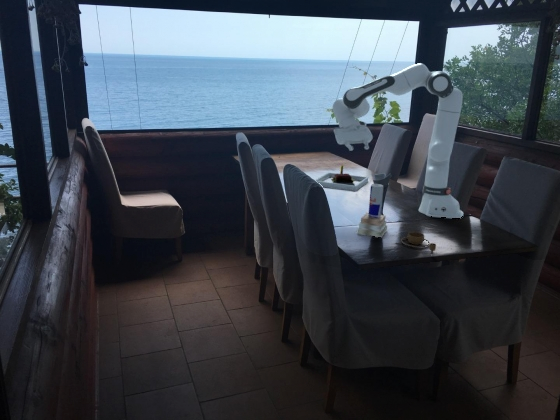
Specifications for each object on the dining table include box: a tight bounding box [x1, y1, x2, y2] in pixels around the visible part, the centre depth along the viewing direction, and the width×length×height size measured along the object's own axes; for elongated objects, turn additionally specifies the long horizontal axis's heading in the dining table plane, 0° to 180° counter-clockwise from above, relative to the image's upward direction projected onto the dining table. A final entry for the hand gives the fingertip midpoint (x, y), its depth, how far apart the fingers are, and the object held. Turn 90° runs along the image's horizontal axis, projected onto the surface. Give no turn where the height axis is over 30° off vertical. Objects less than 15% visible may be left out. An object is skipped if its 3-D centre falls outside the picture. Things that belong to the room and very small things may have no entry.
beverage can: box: [368, 183, 384, 218], centre depth 221 cm, size 6×6×15 cm
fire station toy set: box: [330, 165, 355, 186], centre depth 308 cm, size 14×20×11 cm
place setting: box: [400, 231, 437, 255], centre depth 208 cm, size 18×20×6 cm
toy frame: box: [315, 171, 369, 192], centre depth 313 cm, size 28×28×3 cm
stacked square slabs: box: [356, 212, 388, 238], centre depth 224 cm, size 11×11×8 cm
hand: (359, 149), depth 243 cm, fingers open, 8 cm apart
